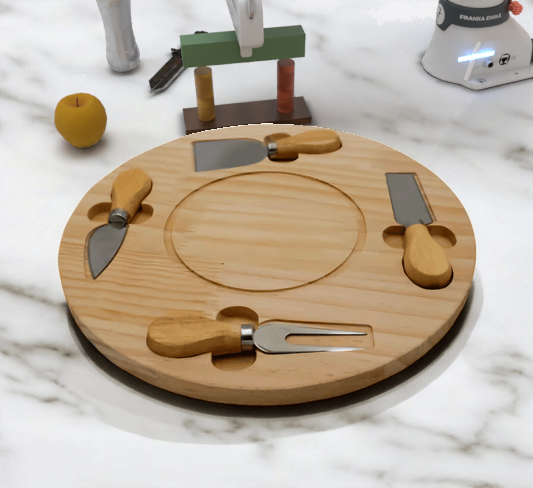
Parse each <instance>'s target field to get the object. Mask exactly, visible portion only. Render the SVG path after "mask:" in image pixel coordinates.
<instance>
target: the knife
mask: <svg viewBox="0 0 533 488" xmlns="http://www.w3.org/2000/svg"><path fill="white" fill-rule="evenodd" d="M200 33H209V32H208V31H205V30H196V31H194V32H193V34H200ZM179 46H180V47H179V48H173V47H171V48H170V51H171V57H170V58H169V59H168V60H167V61H166V62H165V63H164V64H163V65H162V66H161V67H160V69H158V71H157V72H156V73H155V74H153V76H152V77H151V78H150V79H148V85H149V89H150V90H151V91H150V95H152V94H154V93H157V92H160V91H163V90H165V89H166V88H167V87H168V86H169V85H170V84H171V83H172V82H173V81H174V80H175V79H176V78H177V76H179V74H180V73H181V72H183V70H184V69H185V68H184V67H183V61H182V54H181V44H180V45H179Z"/></svg>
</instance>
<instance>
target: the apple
mask: <svg viewBox="0 0 533 488" xmlns="http://www.w3.org/2000/svg"><path fill="white" fill-rule="evenodd" d="M53 120H54V121H53V123H54V126H55V128H56V131H57V132H58V133H59V134H60V136H61V137H62V138H63V139H64V140H65V141H66V142H67V143H69V144H70V145H71V146H72V147H74V148H78V149H85V148H89V147H92V146H94V145H96V144H98V143H99V142H100V140H101V139H102V138H103V136H104V134H105V132H106V129H107V124H108V115H107V111H106V108H105V106H104V104H103V103H102V101H101V100H100V99H99V98H98V97H97V96H96V95H93V94H91V93H87V92H77V93H76V92H75V93H72V94H68V95H66V96H63V97H61V98H60V100H59V101H58V102H57V104H56V106H55V109H54V119H53Z"/></svg>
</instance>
